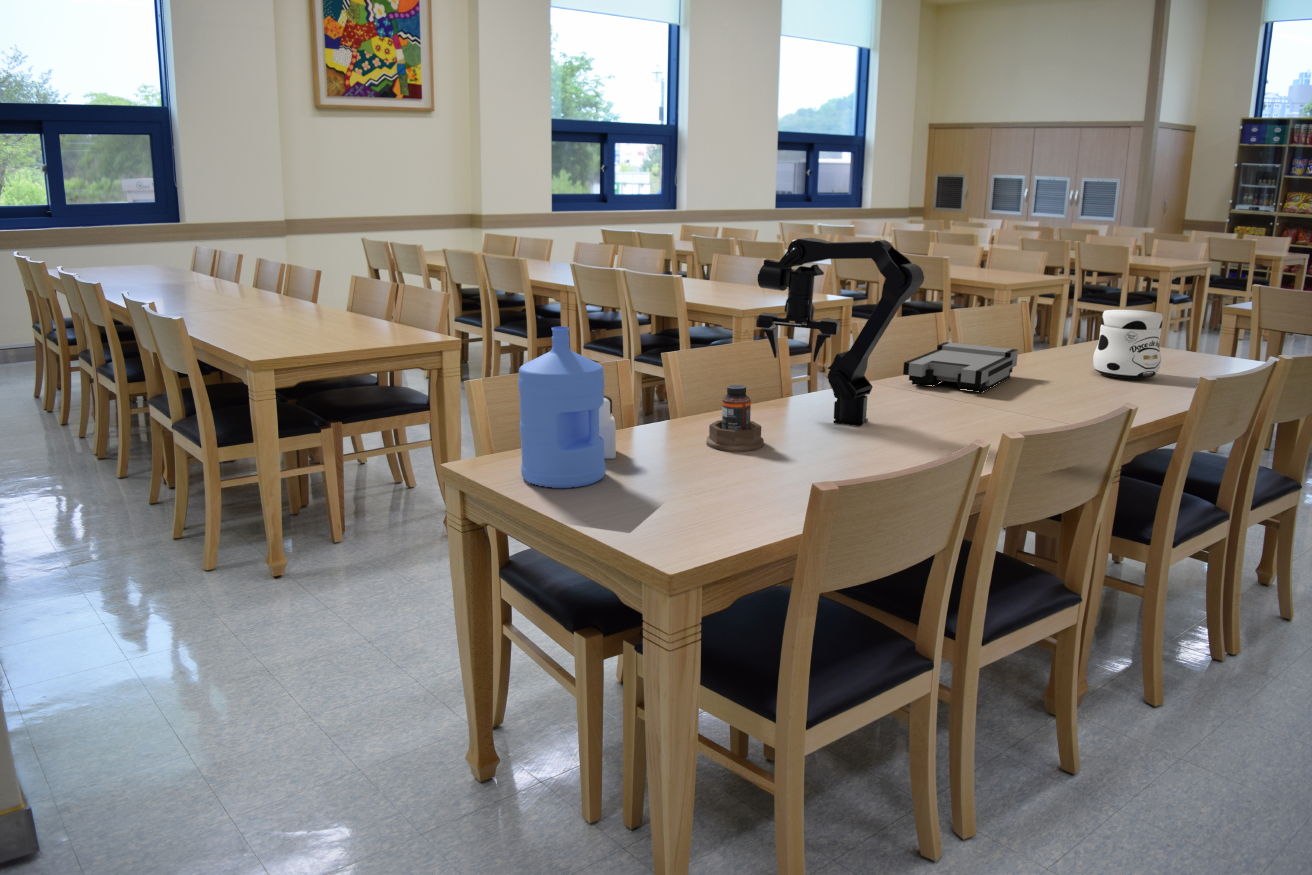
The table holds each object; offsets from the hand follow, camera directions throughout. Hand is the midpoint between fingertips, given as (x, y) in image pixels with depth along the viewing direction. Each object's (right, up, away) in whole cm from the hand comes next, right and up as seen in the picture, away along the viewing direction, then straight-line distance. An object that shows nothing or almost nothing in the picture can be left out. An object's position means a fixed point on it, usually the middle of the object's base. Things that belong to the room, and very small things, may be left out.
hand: (794, 359), depth 228 cm
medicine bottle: (-45, -22, -32) cm, 59 cm away
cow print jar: (+101, -1, +48) cm, 112 cm away
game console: (+51, -3, +40) cm, 65 cm away
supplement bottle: (-16, -19, -24) cm, 34 cm away
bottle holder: (-16, -20, -24) cm, 35 cm away
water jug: (-50, -26, -47) cm, 73 cm away
